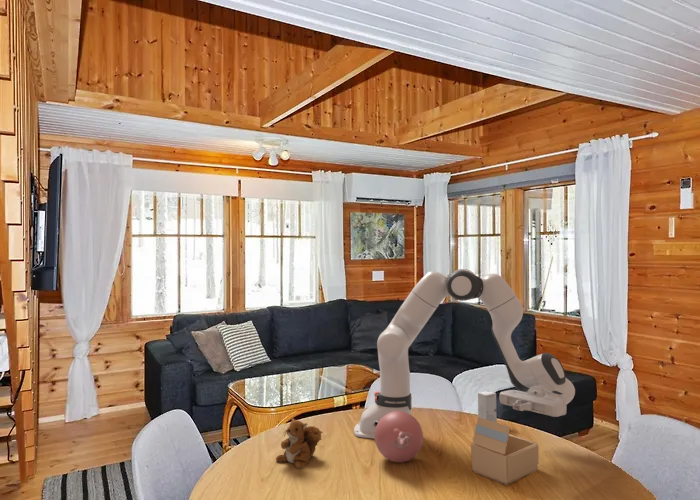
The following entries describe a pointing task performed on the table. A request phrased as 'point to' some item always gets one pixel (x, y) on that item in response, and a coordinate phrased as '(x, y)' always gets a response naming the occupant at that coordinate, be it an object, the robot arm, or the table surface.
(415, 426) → the balloon
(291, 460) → the stuffed squirrel
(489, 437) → the front flap
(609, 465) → the table surface
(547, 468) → the table surface
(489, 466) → the carton
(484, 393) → the skincare box
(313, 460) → the table surface
